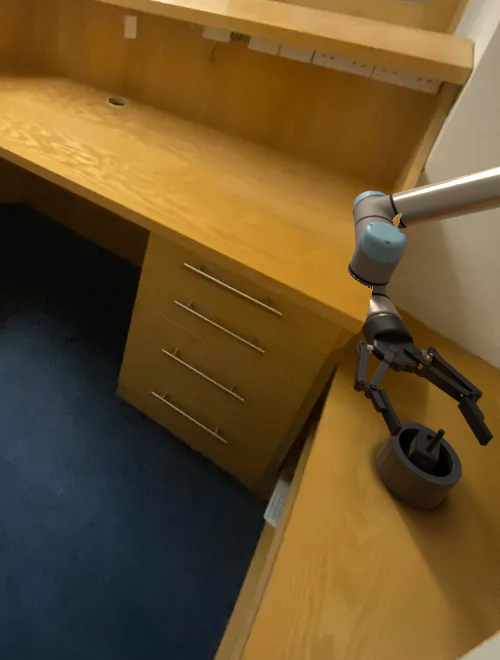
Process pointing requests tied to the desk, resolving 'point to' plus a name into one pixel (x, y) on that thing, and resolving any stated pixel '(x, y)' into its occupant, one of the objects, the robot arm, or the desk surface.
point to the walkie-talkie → (424, 449)
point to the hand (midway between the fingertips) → (441, 436)
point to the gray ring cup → (417, 469)
